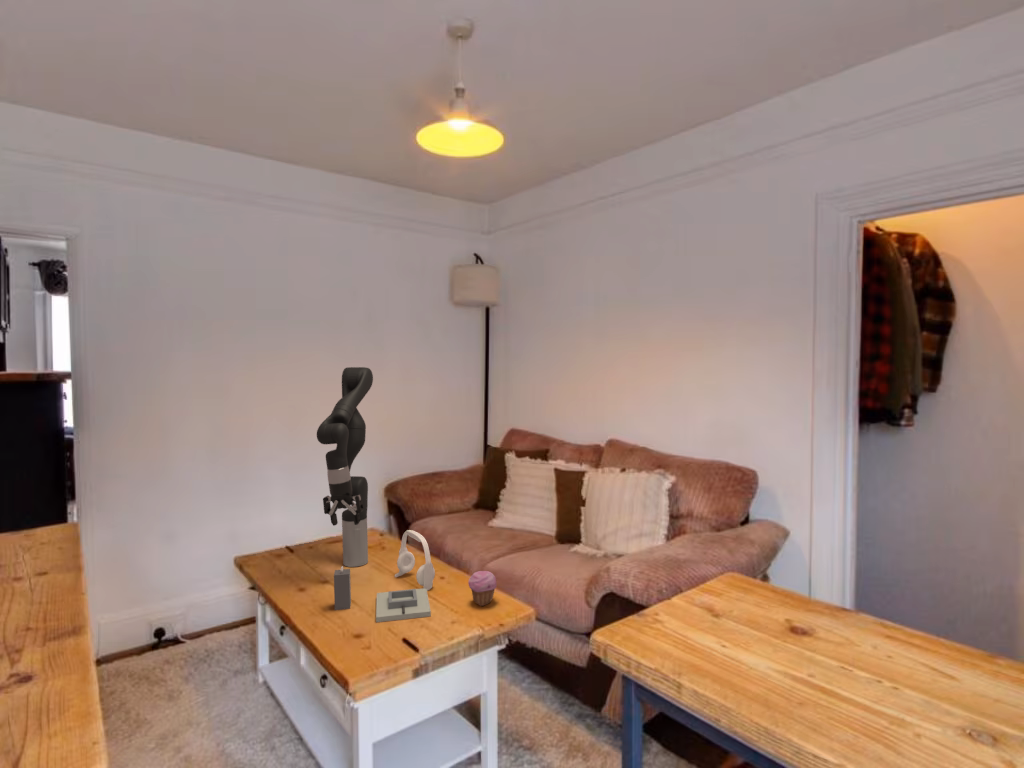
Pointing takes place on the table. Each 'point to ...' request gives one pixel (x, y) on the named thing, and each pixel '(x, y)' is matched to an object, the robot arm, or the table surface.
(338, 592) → the charger block
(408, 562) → the headset
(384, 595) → the charging dock
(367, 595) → the table surface
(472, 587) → the cupcake
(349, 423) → the robot arm
